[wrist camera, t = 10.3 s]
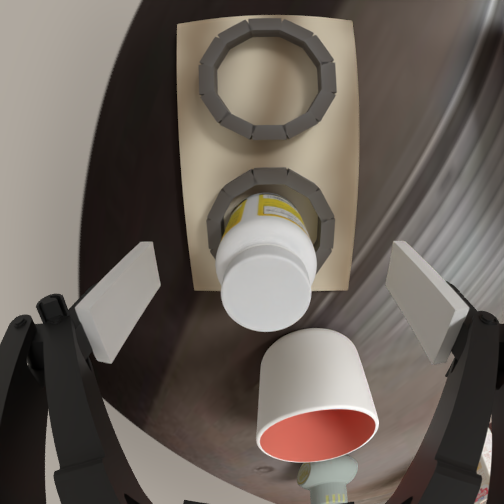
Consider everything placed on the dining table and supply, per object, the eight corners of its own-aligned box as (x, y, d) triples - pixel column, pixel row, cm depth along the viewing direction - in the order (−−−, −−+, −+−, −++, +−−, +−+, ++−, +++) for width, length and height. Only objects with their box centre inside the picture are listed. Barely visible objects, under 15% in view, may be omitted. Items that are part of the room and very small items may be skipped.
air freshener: (313, 446, 35) (317, 499, 26) (360, 445, 36) (368, 494, 26) (293, 469, 40) (294, 514, 30) (334, 469, 40) (338, 512, 31)
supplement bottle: (243, 267, 23) (227, 352, 14) (220, 203, 21) (183, 257, 12) (309, 250, 22) (335, 329, 13) (291, 182, 20) (312, 221, 11)
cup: (353, 380, 29) (370, 452, 20) (268, 392, 30) (266, 466, 21) (356, 313, 25) (388, 394, 16) (252, 329, 26) (244, 415, 17)
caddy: (349, 25, 15) (357, 13, 13) (344, 284, 24) (351, 299, 21) (180, 28, 16) (171, 17, 14) (197, 284, 25) (190, 299, 22)
